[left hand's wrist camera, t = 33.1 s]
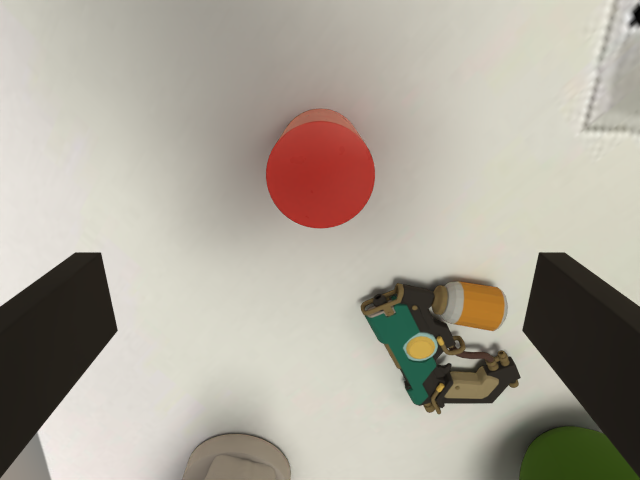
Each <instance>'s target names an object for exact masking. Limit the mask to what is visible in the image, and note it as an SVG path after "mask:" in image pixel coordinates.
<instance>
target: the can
mask: <svg viewBox="0 0 640 480" xmlns="http://www.w3.org/2000/svg"><path fill="white" fill-rule="evenodd" d="M266 181H267V187H268V190H269V193H270V196H271V198H272V200H273V202H274V203H275V205H276V206H277V207H278V209H279V210H280V211H281V212H282V213H283V214H284V215H285V216H287V217H288V218H289V219H291V220H292V221H294V222H296V223H298V224H300V225H303V226H306V227H311V228H330V227H335V226H338V225H341V224H343V223H345V222H347V221H349V220H350V219H352V218H353V217H354V216H356V215H357V214H358V213H359V212H360V211H361V210H362V209H363V207H364V206H365V205H366V203H367V202H368V200H369V198H370V196H371V193H372V191H373V187H374V181H375V168H374V162H373V159H372V156H371V154H370V151H369V149H368V148H367V146H366V144H365V143H364V141H363V140H362V138H361V137H360V135H359V134H358V132H357V131H356V129H355V128H354V126H353V125H352V124H351V123H350V121H349V120H348V119H346V118H345V117H344V116H343V115H341V114H339V113H337V112H335V111H332V110H328V109H313V110H309V111H306V112H304V113H302V114H300V115H298V116H297V117H295V118H294V119H293V120H292V121H291V122H290V123H289V125H288V126H287V128H286V129H285V131H284V132H283V134H282V135H281V137H280V138H279V140H278V141H277V143H276V144H275V146H274V148H273V149H272V151H271V154H270V156H269V159H268V163H267V168H266Z"/></svg>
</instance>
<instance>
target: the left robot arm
mask: <svg viewBox="0 0 640 480" xmlns="http://www.w3.org/2000/svg"><path fill="white" fill-rule="evenodd" d="M117 331H118V330H117V325H116V321H115V316H114V311H113V307H112V302H111V297H110V293H109V288H108V283H107V279H106V274H105V269H104V264H103V260H102V255H101V253H74V254H73V255H71V256H70V257H69V258H67V259H66V260H64V261H63V262H62V263H60V264H59V265H57V266H56V267H55V268H53V269H52V270H50V271H49V272H48V273H46V274H45V275H44V276H42V277H41V278H39V279H38V280H37V281H35V282H34V283H32V284H31V285H30V286H28V287H27V288H26V289H24V290H23V291H21V292H20V293H19V294H17V295H16V296H14V297H13V298H12V299H10V300H9V301H8V302H6V303H5V304H3V305H2V306H1V307H0V478H1V477H2V475H3V474H4V473H5V472H6V470H7V469H8V468H9V467H10V465H11V464H12V463H13V462H14V460H15V459H16V458H17V456H18V455H19V454H20V453H21V451H22V450H23V449H24V448H25V446H26V445H27V444H28V443H29V441H30V440H31V439H32V438H33V436H34V435H35V434H36V433H37V431H38V430H39V429H40V428H41V426H42V425H43V424H44V423H45V421H46V420H47V419H48V418H49V416H50V415H51V414H52V412H53V411H54V410H55V409H56V407H57V406H58V405H59V404H60V402H61V401H62V400H63V399H64V397H65V396H66V395H67V394H68V392H69V391H70V390H71V389H72V387H73V386H74V385H75V384H76V382H77V381H78V380H79V379H80V377H81V376H82V375H83V374H84V372H85V371H86V370H87V368H88V367H89V366H90V365H91V363H92V362H93V361H94V360H95V358H96V357H97V356H98V355H99V353H100V352H101V351H102V350H103V348H104V347H105V346H106V345H107V343H108V342H109V341H110V340H111V338H112V337H113V336H114V335H115V333H116V332H117ZM522 331H523V332H524V333H525V335H526V336H527V337H528V338H529V340H530V341H531V342H532V343H533V345H534V346H535V347H536V348H537V350H538V351H539V352H540V353H541V355H542V356H543V357H544V358H545V360H546V361H547V362H548V363H549V365H550V366H551V367H552V368H553V370H554V371H555V372H556V374H557V375H558V376H559V377H560V379H561V380H562V381H563V382H564V384H565V385H566V386H567V387H568V389H569V390H570V391H571V392H572V394H573V395H574V396H575V397H576V399H577V400H578V401H579V402H580V404H581V405H582V406H583V407H584V409H585V410H586V411H587V412H588V414H589V415H590V416H591V418H592V419H593V420H594V421H595V423H596V424H597V425H598V426H599V428H600V429H601V430H602V431H603V433H604V434H605V435H606V436H607V438H608V439H609V440H610V441H611V443H612V444H613V445H614V446H615V448H616V449H617V450H618V451H619V453H620V454H621V455H622V457H623V458H624V459H625V460H626V462H627V463H628V464H629V465H630V467H631V468H632V469H633V470H634V472H635V473H636V474H637V475H638V477H639V478H640V307H639V306H638V305H637V304H635V303H634V302H632V301H631V300H630V299H628V298H627V297H626V296H624V295H623V294H621V293H620V292H619V291H617V290H616V289H614V288H613V287H612V286H610V285H609V284H608V283H606V282H605V281H603V280H602V279H601V278H599V277H598V276H596V275H595V274H594V273H592V272H591V271H590V270H588V269H587V268H585V267H584V266H583V265H581V264H580V263H578V262H577V261H576V260H574V259H573V258H571V257H570V256H569V255H567V254H566V253H539V255H538V260H537V264H536V269H535V274H534V279H533V283H532V288H531V293H530V297H529V302H528V307H527V311H526V316H525V321H524V325H523V330H522Z"/></svg>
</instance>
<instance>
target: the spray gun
mask: <svg viewBox="0 0 640 480" xmlns="http://www.w3.org/2000/svg"><path fill="white" fill-rule="evenodd" d="M396 293H397V295H398V296H397V297H396V296H392V298H391V300H390V298H389V296H391V295H394V294H396ZM371 303H374V305H375V306H373V307H370V308H369V309H368V310H367V311H365V307H366V306H367V305H369V304H371ZM431 306H432V310H433V312H434V313H435V314H438V315H441V316H442V318H443V319H444V321H446V322H449V323H451V324H456V325H462V326H468V327H473V328H479V329H484V330H490V331H495V330H496V329H498V328H499V327H500V326H501V325H502V324H503V322H504V321H505V319H506V316H507V310H508V305H507V299H506V296H505V294H504V293H503V291H501V290H500V289H499V288H498V287H492V286H485V285H479V284H472V283H466V282H459V281H458V282H449V283H447V284H446V285H445V286H441V285H439V286H437V287H436V288H435V290H434V291H431V290H428V289H423V288H419V287H414V286H410V285H405V284H403V285H402V284H399V283H397V284H396V286H395V289H394V290H392V291H390V292H387V293H385V294H382V295H381V294H378V295H376V296H375V297H374V298H372V299H370V300H367V301H365V302H363V303H362V305H361V311H362V313H363V314H364V315H365V317H366V319H367V321H368V323H369V324H370V326H371V328H372V330H373V332H374V333H375V335H376V337H377V339H378V340H379V341H380V342H381V343H383V344H384V345H385V347H386V349H387V350H388V352H389V354H390V356H391V358H392V359H393V361H394V363H395V365H396V367H397V368H398V369H400V370H401V372H402V374H403V376H404V377H405V379H406V381H405V389H406V391H407V392H408V394H409V396H410V398H411V400H412V401H413V403H414V404H416V405H419V406H421V405H424V407H425V409H426V411H427V412H429V413H430V412H433V411H434V410H436V412H437V414H441V410H440V408H443V407H444V406H445V405H444V403H493V402H494V401H495V400H496V398H497V397H498V396H499V395H500V394H501V393H502V392H503V391H504V390H505V388H506V387H507V386H508V385H509V386H510V387H512V388H516V387H517V386H518V385H519V383H518V379H520V378H521V377H520V375H519V372H518V370H517V367H516V365H515V363H514V361H513V360H512V358H511V357H508V356H507V354H506V353H505V352H504V351H499V352H498V355H497V357H493V356H491V355H490V354H488V353H486V352H466V351H464V350H465V348H466V347H465V343H464V341H463V339H462V338H461V337H460V336H453V337H452V335H451V333H450V330H449V328H448V326H447V324H446V323H444V322H441V321H439V320H437V319H434V318H433V317H432V315H431V313H430V311H429V309H428V308H430V307H431ZM455 340H458V341H459V343H460V346H461V347H460V348H456V347H455ZM447 348H449V350H448V349H447ZM443 351H444V352H445V353H446V354H448V355H456V356H459V357H462V358H469V359H485V362H486V364H487V365H484V366H481V367H480V368H479V369H478V371H477V372H476V373H472V372H458V371H451V372H450V371H449V370H450V369H451V364H450V363H448V364H447V365H445V366H441V365H437V364H436V362H435V360H436V359H437V358H438V357H439V356H440V355H441V354H442V353H443Z"/></svg>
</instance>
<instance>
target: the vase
mask: <svg viewBox="0 0 640 480" xmlns="http://www.w3.org/2000/svg"><path fill="white" fill-rule="evenodd" d="M519 480H640V478H639V477H638V475H637V474H636V473H635V472H634V470H633V469H632V468H631V467H630V465H629V464H628V463H627V462H626V460H625V459H624V458H623V457H622V455H621V454H620V453H619V451H618V450H617V449H616V448H615V446H614V445H613V444H612V443H611V441H610V440H609V439H608V438H607V436H606V435H605V434H604V433H601V432H598V431H595V430H591V429H586V428H581V427H575V426H564V427H558V428H555V429H552V430H549V431H547V432H545V433H543V434H541V435H540V436H538V437H537V438H536V439H535V440H534V441H533V442H532V443H531V444H530V446H529V447H528V449H527V451H526V454H525V456H524V459H523V461H522V464H521V469H520V476H519Z"/></svg>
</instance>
